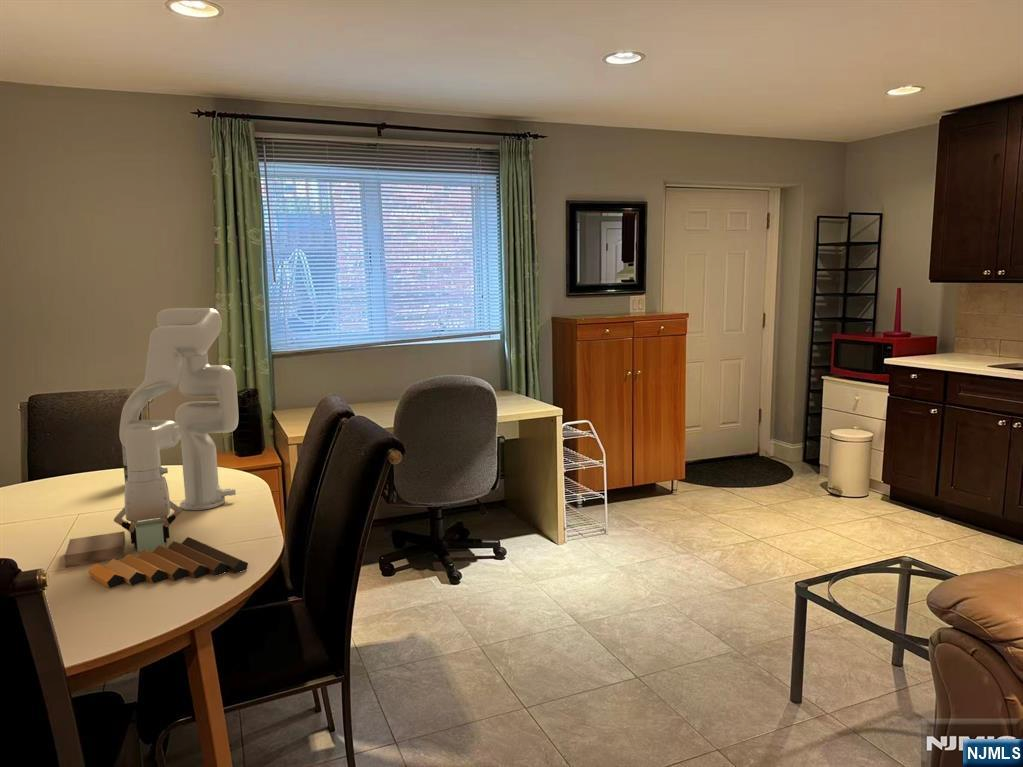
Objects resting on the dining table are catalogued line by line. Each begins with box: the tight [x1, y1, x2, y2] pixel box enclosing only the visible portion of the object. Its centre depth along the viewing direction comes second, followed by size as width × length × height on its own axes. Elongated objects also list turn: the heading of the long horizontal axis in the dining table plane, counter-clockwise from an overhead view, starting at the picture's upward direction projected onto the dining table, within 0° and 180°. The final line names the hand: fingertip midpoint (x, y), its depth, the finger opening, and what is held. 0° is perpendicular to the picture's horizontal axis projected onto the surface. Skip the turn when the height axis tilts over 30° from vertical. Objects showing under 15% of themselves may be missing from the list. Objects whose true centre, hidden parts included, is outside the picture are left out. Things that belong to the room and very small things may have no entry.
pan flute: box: [88, 536, 249, 589], centre depth 161 cm, size 25×3×25 cm
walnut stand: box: [64, 531, 126, 568], centre depth 173 cm, size 12×12×3 cm
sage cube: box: [136, 518, 165, 553], centre depth 178 cm, size 6×6×6 cm
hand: (150, 542), depth 179 cm, fingers closed on sage cube, 6 cm apart
